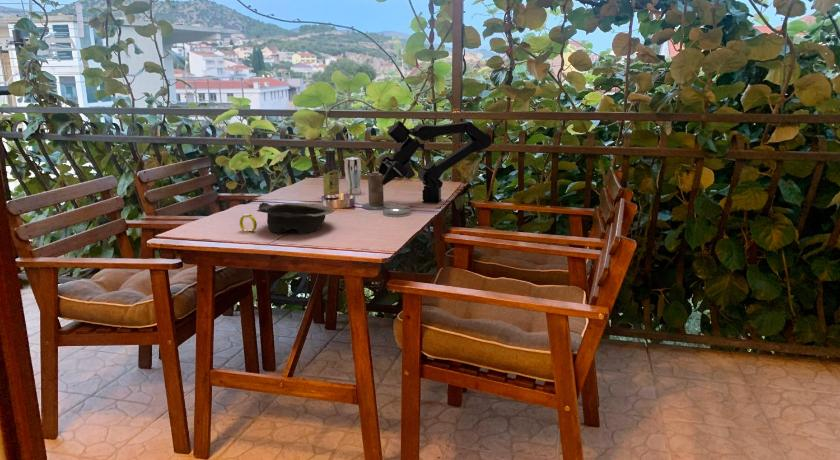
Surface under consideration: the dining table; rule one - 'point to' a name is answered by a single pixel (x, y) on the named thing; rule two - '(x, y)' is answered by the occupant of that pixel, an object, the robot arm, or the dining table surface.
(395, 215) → the round metal lid
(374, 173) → the pepper mill
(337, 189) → the sauce bottle
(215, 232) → the dining table surface
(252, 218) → the watch
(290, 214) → the stone bowl
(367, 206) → the coaster
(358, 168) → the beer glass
